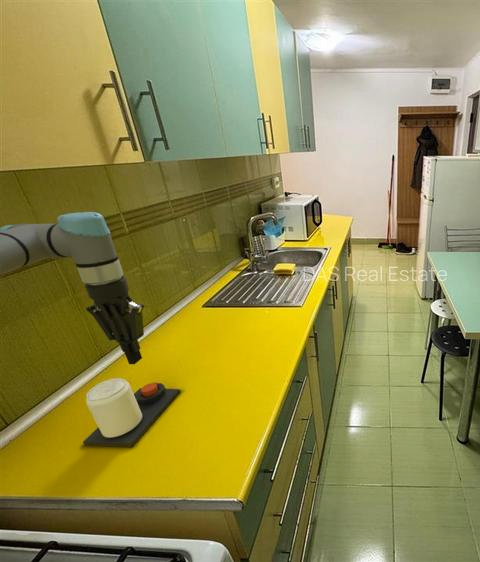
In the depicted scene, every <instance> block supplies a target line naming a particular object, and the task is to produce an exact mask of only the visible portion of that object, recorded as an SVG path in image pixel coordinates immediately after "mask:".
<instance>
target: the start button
mask: <svg viewBox="0 0 480 562" xmlns="http://www.w3.org/2000/svg"><path fill="white" fill-rule="evenodd" d="M156 383H157V382H149V383H147V384H145V385H143V386H142V387H141V388H142V389H141V392H142V394H143V396H144V397H147V396H151V395H153V394H155V393H156V392H157V391H158V387H157V384H156Z"/></svg>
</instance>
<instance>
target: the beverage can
mask: <svg viewBox="0 0 480 562" xmlns="http://www.w3.org/2000/svg"><path fill="white" fill-rule="evenodd" d="M85 403H86V405H87V407H88V409H89V411H90V414H91V415H92V418H93V419H94V422H95V423H96V425H97V428H98V427H99V429H100V431H101V433H102V435H103V436H105V437H109V438H111V437H117V436H120V435H123V434H125V433H127V432H129V431H130V430H132V429H133V428H135V427H136V426H137V425H138V424H139V422H140V421H141V419H142V413H141V411H140V408H139V406H138V403H137V401H136V399H135V396H134V392H133V389H132V386H131V384H130V383H129V382H128V381H126V379H124V378H121V377H115V378H110V379H107V380H104V381H102V382H99V383H97V384H96V385H95V386H93V387H91V389H90V390H88V391H87V393H86V399H85Z"/></svg>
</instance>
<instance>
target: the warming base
mask: <svg viewBox="0 0 480 562" xmlns="http://www.w3.org/2000/svg"><path fill="white" fill-rule="evenodd" d="M155 383H156V384H157V387H158V391H157V392H156V393H155V394H153V395H151V396H147V397H144V396H143V394H142V392H141V389H142V387H140V388H138V389H137V390H136V391H135V392H133V394H134V396H135V399H136V401H137V403H138V406H139V408H140V411H141V413H142V419H141V421H140V422H139V424H138V425H137V426H136V427H135V428H133V429H132V430H130V431H129V432H127V433H125V434H123V435H120V436H117V437H111V438H109V437H105V436H103V435H102V433H101V431H100V429H99V427H98V426H97V428H96V429H95V430H93V431H92V432H91V434H90V435H88V436H87V437H86V438H85V439H84V440H83V441H82V443H83V445H84V446H89V447H90V446H91V447H92V446H95V447H124V448H127V447H128V448H133V447H134V446H135V445H136V444H137V442H138V441H139V440H140V439H141V438H142V437H143V436H144V435H145V433H146V432H147V431H148V430H149V429H150V427H151V426H152V425H154V423H155V422H156V421H157V420H158V418H160V416H162V414H163V413H164V412H165V410H166V409H168V407H169V406H170V405H171V404H172V402H174V401H175V399H176V398H177V397H178V395H180V394H181V389H180V388H166V386H165V385H164V384H163V383H162V382H155Z"/></svg>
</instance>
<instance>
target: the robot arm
mask: <svg viewBox="0 0 480 562" xmlns="http://www.w3.org/2000/svg"><path fill="white" fill-rule="evenodd" d="M59 258H61V259H62V258H63V259H64V258H72V260H73V262H74V264H75V265H76V266H75V267H76V270H77V272H78V274H79V277H80V280H81V282H82V283H84V289H85V290H86V293H87V296H88V297H89V299H90V300H93V304H91V305H89V306H87V307H86V308H85V309H86V312H88V314H90V315H91V316H92V317H93V318H94V320H95V322H96V323H97V324H98V326H99V327H100V329H101V330H102V331H103V333H104V334H105V336H106V337H107V339H108V340H109V341H110V342H111V341H115V342H116V343H118V344H119V347H120V349H121V351H122V352H123V353H124V356H125V357H126V360H127V363H128V364H129V365H135V364H137V363H138V362H140V361H141V360H142V359H143V356H142V353H141V346H140V342H139V339H141V338H142V337H144V336H145V331H144V319H143V318H144V317H143V310H144V308H145V305H144V304H143V303H139V304H137V303H136V302H133V299H132V298H131V296H130V294H129V291H130V287H129V284H128V281H127V278H126V276H124V274H125V273H124V270H123V267H122V265H121V262H120V259H119V257H118V254H117V251H116V248H115V245H114V242H113V239H112V235H111V230H110V229H109V227H108V225H107V222H106V220H105V218H104V216H103V215H102V214H101V213H99V212H96V211H83V212H72V213H66V214H60V215H59V216H58V217H57V223H18V224H10V225H8V224H7V225H4V226H2V227H0V276H2V275H5V274H8V273H11V272H13V271H16V270H18V269H22V268H24V267H28V266H30V265H32V264H35V263H39V262H41V261H43V260H47V259H59Z"/></svg>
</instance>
